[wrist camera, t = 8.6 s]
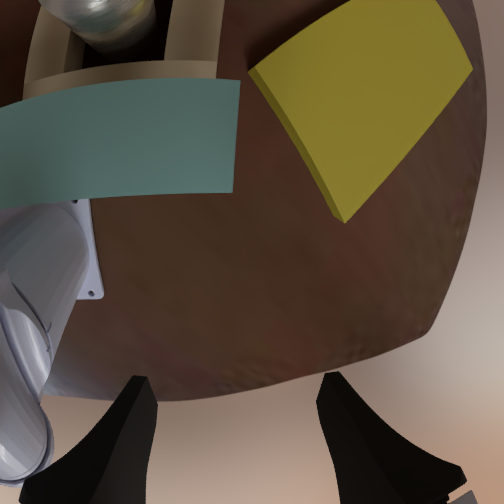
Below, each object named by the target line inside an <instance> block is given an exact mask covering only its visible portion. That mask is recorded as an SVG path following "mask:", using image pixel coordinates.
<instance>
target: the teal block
mask: <svg viewBox="0 0 504 504" xmlns="http://www.w3.org/2000/svg"><path fill="white" fill-rule="evenodd" d="M240 82H241V81H239V80H227V79H211V78H152V79H136V80H124V81H115V82H107V83H99V84H93V85H86V86H81V87H75V88H70V89H65V90H61V91H56V92H52V93H48V94H44V95H40V96H36V97H33V98H29V99H26V100H23V101H20V102H16V103H13V104H10V105H7V106H5V107H2V108H0V210H1V209H7V208H13V207H20V206H27V205H35V204H43V203H51V202H60V201H69V200H79V199H90V198H102V197H116V196H131V195H150V194H177V193H232V191H233V175H234V160H235V145H236V131H237V118H238V105H239V93H240Z"/></svg>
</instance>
